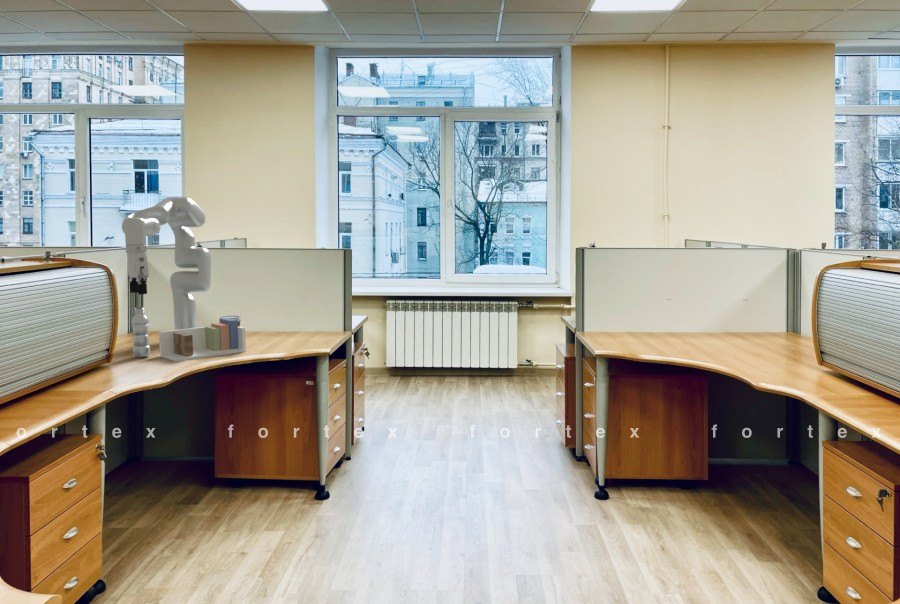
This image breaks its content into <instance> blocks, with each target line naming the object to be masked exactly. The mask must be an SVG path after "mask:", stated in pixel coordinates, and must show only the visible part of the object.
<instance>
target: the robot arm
mask: <svg viewBox="0 0 900 604" xmlns="http://www.w3.org/2000/svg"><path fill="white" fill-rule="evenodd" d="M205 223H206V215H205V212H204V210H203V209H202V208H201V207H200V205H199V204H197V203H196V202H195V201H194V200H193V199H192V198H190V197H186V196H185V197H183V196H181V197H179V196H177V197H176V196H171V197H170V196H169V197H166V198H163V199H161V200H160V201H159V202H158V203H156V204H155V205H153V206H151V207H148V208H144V209H141V210H136V211H134V212H132V213H130V214H129V215H127V216H126V217H124V218H123V220H122V223H121V231H122V232H123V234H124V237H125V238H124V239H125V240H124V241H125V254H127V275H128V279H129V280H128V281H129V282H128V283H129V292H130V293H131V294H135V293H138V295H147V294H148V286H147V284H148V281H147V280H148V279H147V278H149V276H150V271H149V262H148V257H147V248H148V247H147V237H153V236H157V235H158V234H159V233H160V231H161V226H163V225H166V224H168V226H169V227H170V229H171V230H172V232H173V235H174V264H175V266H176V267H178V268H181V269H198V271H194V270H193V271H192V270H179V271H175V272H173V273H172V274H171V276H170V278H169V283H170V288H171V293H172V300H173V318H174V319H173V321H174V322H173V323H174V324H173V325H174V330H181V329H190V328H198V327H197V325H198V324H197V309H196V308H197V307H196V305H197V304H196V299H195V297H194V296H193V295H192V293H205V292H208V291H209V289H210V287H211V280H212V277H211V275H212V256H211V253H210V251H209V249H208V248H205V247H196V244H195V243H196V240H195V239H196V237H195V235H194V233H193V232H192V230H191V229H190V228H200V227H203V225H204V224H205Z"/></svg>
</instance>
